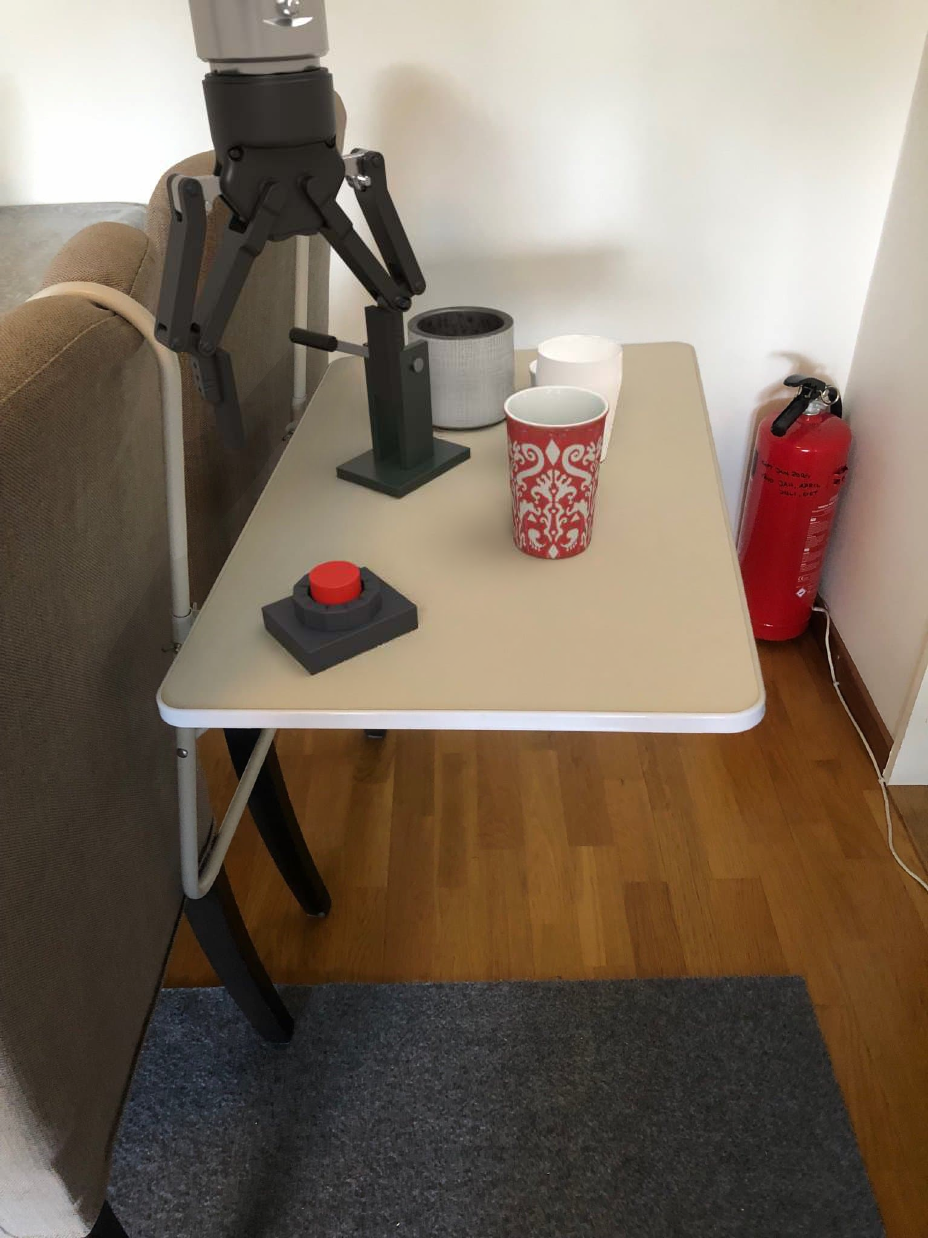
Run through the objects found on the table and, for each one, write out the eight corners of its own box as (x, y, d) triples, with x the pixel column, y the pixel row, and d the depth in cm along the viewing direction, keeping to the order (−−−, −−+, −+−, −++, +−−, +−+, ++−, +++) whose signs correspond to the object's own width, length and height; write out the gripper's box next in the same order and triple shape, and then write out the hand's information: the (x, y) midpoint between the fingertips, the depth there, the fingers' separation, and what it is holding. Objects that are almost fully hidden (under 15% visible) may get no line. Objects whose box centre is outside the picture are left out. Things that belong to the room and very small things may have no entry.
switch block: (312, 675, 71) (305, 633, 68) (264, 629, 76) (257, 588, 74) (418, 627, 75) (415, 587, 73) (367, 587, 81) (363, 547, 79)
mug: (603, 566, 82) (612, 424, 75) (502, 564, 83) (501, 424, 75) (597, 500, 93) (605, 370, 85) (508, 499, 93) (507, 370, 86)
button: (327, 611, 71) (324, 593, 70) (302, 590, 74) (299, 571, 73) (371, 593, 73) (369, 575, 72) (345, 573, 76) (343, 555, 75)
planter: (534, 406, 113) (535, 314, 107) (475, 441, 105) (472, 345, 99) (452, 386, 120) (449, 299, 113) (391, 419, 111) (383, 327, 105)
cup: (621, 472, 98) (629, 361, 91) (536, 474, 98) (538, 364, 91) (611, 437, 105) (618, 332, 98) (532, 439, 105) (533, 335, 98)
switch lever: (324, 356, 82) (329, 329, 82) (286, 346, 85) (291, 319, 84) (421, 378, 94) (426, 354, 93) (384, 368, 96) (389, 345, 96)
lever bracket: (399, 499, 94) (388, 367, 86) (336, 476, 99) (321, 350, 91) (470, 457, 102) (467, 333, 94) (409, 438, 107) (401, 319, 99)
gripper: (78, 87, 45) (173, 488, 57) (470, 52, 56) (478, 393, 69) (34, 79, 50) (130, 449, 62) (402, 49, 61) (421, 366, 74)
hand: (313, 420), depth 65 cm, fingers open, 12 cm apart
